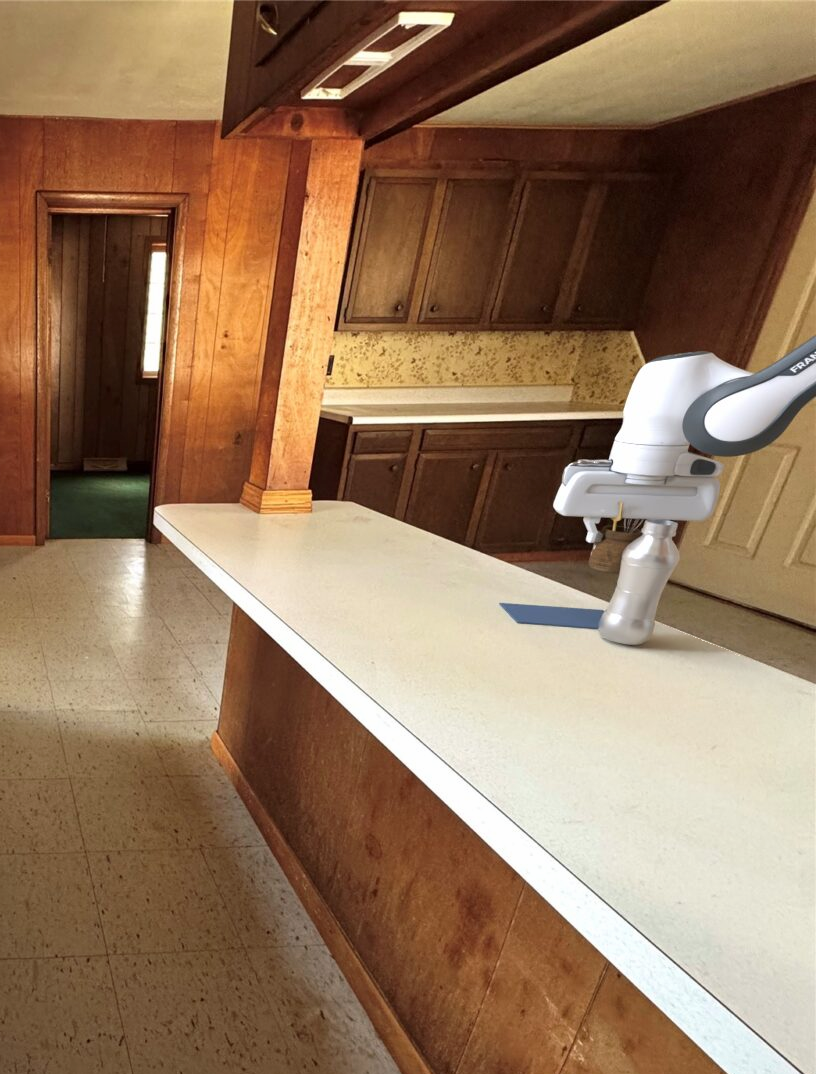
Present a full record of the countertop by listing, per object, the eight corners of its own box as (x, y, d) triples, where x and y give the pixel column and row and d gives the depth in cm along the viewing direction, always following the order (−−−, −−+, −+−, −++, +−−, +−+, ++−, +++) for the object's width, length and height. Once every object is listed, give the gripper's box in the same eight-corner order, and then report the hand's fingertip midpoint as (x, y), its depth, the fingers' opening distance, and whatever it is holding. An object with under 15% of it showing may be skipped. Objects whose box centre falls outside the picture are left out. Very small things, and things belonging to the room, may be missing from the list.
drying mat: (602, 611, 119) (603, 609, 118) (628, 631, 111) (629, 630, 110) (499, 604, 123) (499, 602, 123) (517, 623, 115) (517, 621, 115)
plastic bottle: (584, 632, 111) (621, 516, 104) (629, 633, 110) (670, 516, 103) (611, 649, 105) (652, 527, 98) (659, 650, 104) (704, 528, 97)
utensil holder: (641, 572, 110) (666, 502, 106) (614, 577, 109) (638, 505, 104) (603, 561, 115) (625, 494, 111) (577, 566, 114) (598, 497, 109)
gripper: (576, 462, 105) (552, 545, 110) (738, 465, 99) (705, 552, 105) (559, 455, 111) (537, 534, 116) (711, 458, 105) (681, 541, 110)
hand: (618, 543), depth 110 cm, fingers closed on utensil holder, 5 cm apart
